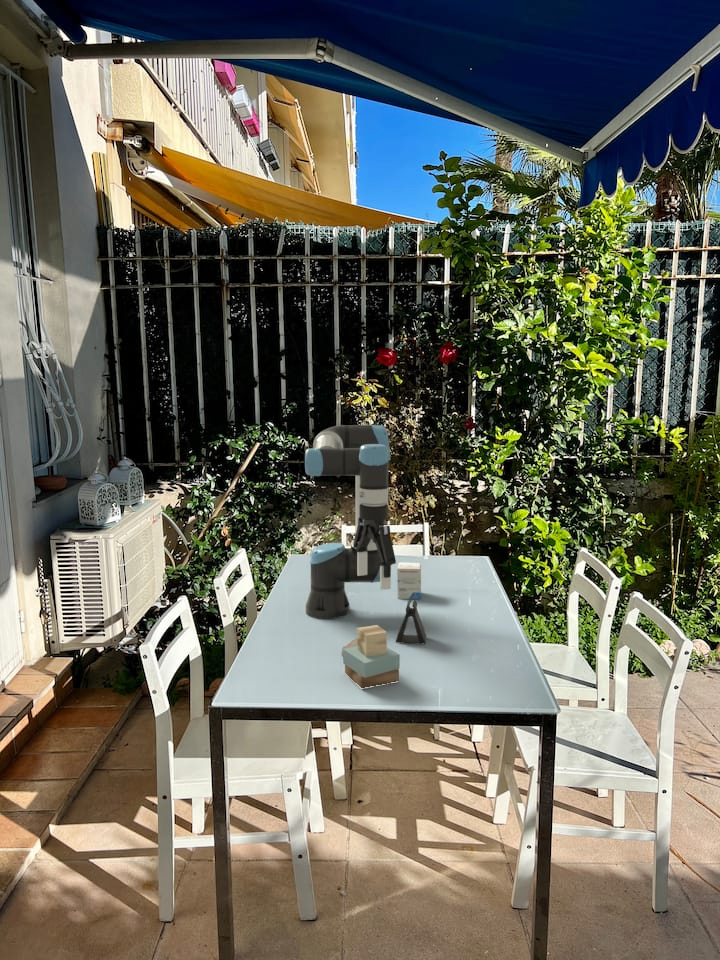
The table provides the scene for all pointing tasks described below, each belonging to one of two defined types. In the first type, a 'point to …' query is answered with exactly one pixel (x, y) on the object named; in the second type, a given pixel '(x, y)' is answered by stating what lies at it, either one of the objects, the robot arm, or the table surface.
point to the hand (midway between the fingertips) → (373, 581)
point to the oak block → (371, 640)
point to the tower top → (371, 662)
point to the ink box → (409, 580)
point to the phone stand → (418, 625)
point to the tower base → (372, 678)
